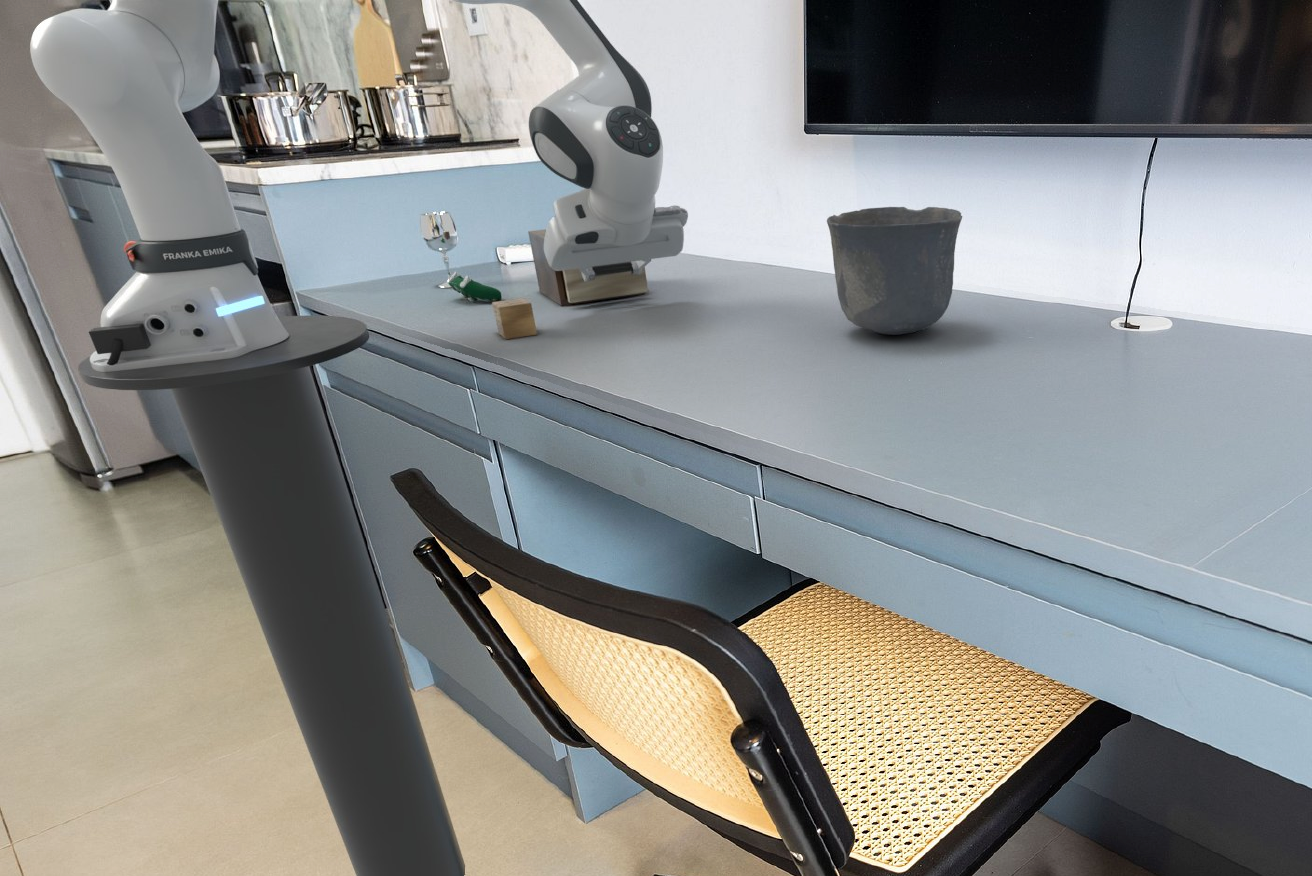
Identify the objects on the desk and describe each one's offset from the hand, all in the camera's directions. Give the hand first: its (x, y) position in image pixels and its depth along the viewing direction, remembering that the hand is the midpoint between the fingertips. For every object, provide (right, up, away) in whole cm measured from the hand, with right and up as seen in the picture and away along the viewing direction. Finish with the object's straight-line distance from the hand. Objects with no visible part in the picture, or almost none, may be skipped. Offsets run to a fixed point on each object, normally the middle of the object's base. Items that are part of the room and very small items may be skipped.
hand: (611, 274), depth 153 cm
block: (-10, -12, -12) cm, 20 cm away
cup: (+44, -15, -20) cm, 50 cm away
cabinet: (-7, +1, +13) cm, 14 cm away
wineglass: (-35, +6, +24) cm, 43 cm away
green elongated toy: (-25, -1, +11) cm, 28 cm away
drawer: (-3, -1, +7) cm, 8 cm away
